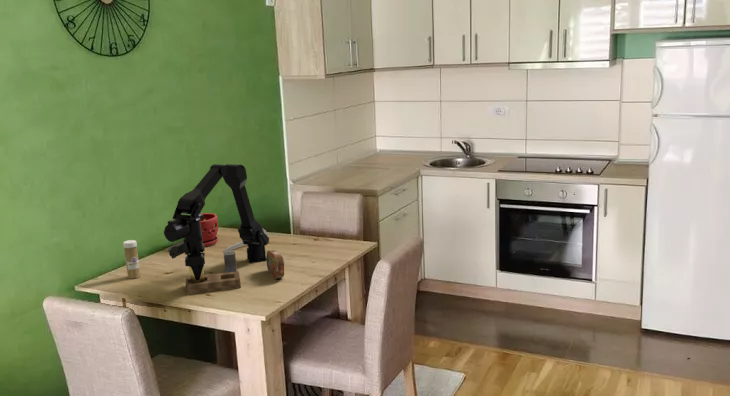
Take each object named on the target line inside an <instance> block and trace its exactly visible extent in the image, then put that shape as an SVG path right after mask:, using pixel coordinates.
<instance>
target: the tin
mask: <svg viewBox="0 0 730 396" xmlns="http://www.w3.org/2000/svg"><path fill="white" fill-rule="evenodd" d="M266 268H267V271H268V273H269V274H270V275H271V276H272V277H273V278H274V279H275V280H277V279H282V278H284V276H285V261H284V258H283V256H282V254H280V253H279V252H278V251H277V250H276V249H274V250H267V252H266Z"/></svg>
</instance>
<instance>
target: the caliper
mask: <svg viewBox="0 0 730 396" xmlns="http://www.w3.org/2000/svg"><path fill="white" fill-rule="evenodd" d="M262 230H263V232H264V233H265V234H266V235H267V236H268V233H267V230H265V228H263V227H262ZM243 245H244V244H243V241H242V240H241V241H239V242H237V243H235V244H232V245H230V246H228V247H226V248H225V249H224V250H223V251H222V252H223V253H224V252H231V251H234V250H235V249H238V248H239V247H242V246H243Z"/></svg>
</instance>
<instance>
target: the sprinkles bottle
mask: <svg viewBox="0 0 730 396" xmlns="http://www.w3.org/2000/svg"><path fill="white" fill-rule="evenodd" d="M122 244H123V245H122V246H123V249H124V258H125V259H124V260H125V266H126V267H125V268H126V271H127V279H138V278H139V277H141V271H140V262H139V261H140V260H139V256H138V255H139V254H138V247H137V245H138V244H137V240H134V239H130V240H129V239H128V240H125V241H123V242H122Z"/></svg>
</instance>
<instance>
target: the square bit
mask: <svg viewBox="0 0 730 396" xmlns="http://www.w3.org/2000/svg"><path fill="white" fill-rule="evenodd" d="M223 259H224V271H225V272H224V273H227V272H236V271H238V270H237V261H236V260H237V259H236V252H235V250H231V251H228V252H227V251H226V252H223Z"/></svg>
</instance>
